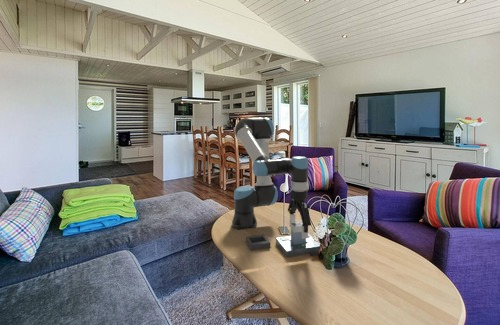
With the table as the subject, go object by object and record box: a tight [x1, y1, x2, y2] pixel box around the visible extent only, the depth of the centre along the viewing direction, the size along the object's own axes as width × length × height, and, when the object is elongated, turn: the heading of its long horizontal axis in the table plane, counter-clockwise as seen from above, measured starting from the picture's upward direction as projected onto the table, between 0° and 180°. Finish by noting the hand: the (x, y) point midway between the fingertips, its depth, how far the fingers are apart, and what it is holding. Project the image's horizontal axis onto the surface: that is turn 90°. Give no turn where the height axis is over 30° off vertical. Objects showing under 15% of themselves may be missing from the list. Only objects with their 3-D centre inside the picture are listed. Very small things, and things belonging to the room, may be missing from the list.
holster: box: [245, 233, 271, 251], centre depth 130 cm, size 10×10×4 cm
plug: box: [290, 221, 306, 245], centre depth 125 cm, size 4×6×12 cm
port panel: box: [275, 233, 321, 258], centre depth 126 cm, size 14×18×5 cm
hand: (298, 232), depth 125 cm, fingers open, 13 cm apart
